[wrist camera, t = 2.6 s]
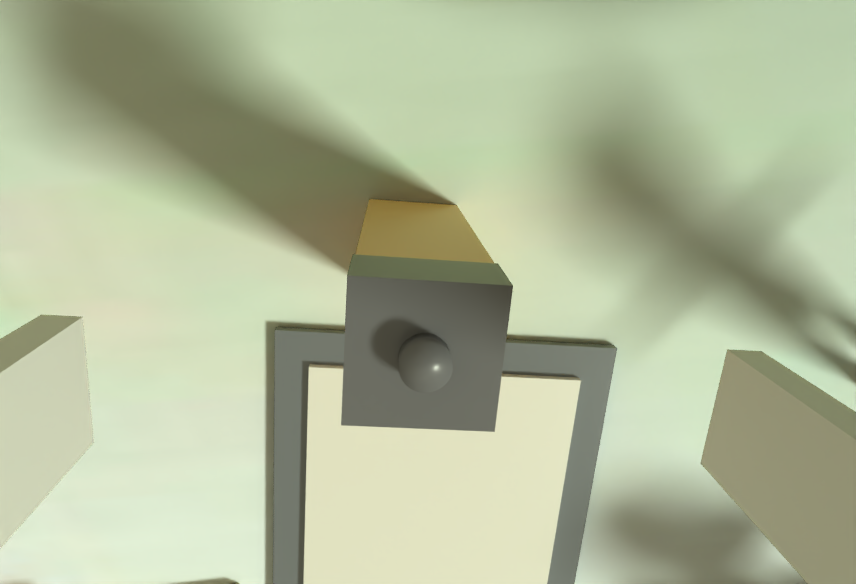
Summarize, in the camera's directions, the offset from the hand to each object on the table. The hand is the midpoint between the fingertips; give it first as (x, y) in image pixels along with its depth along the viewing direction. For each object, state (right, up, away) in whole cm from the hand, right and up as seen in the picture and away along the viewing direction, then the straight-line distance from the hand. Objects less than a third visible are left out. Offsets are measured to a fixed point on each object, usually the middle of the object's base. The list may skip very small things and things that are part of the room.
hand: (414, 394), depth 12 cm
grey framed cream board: (0, -9, +17) cm, 20 cm away
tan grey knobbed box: (0, +4, +13) cm, 14 cm away
